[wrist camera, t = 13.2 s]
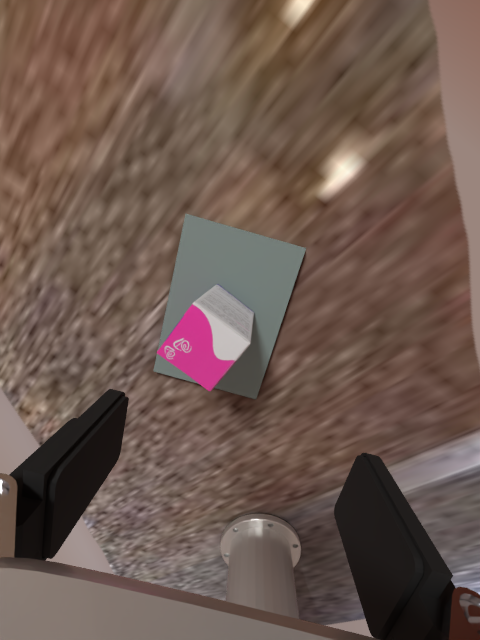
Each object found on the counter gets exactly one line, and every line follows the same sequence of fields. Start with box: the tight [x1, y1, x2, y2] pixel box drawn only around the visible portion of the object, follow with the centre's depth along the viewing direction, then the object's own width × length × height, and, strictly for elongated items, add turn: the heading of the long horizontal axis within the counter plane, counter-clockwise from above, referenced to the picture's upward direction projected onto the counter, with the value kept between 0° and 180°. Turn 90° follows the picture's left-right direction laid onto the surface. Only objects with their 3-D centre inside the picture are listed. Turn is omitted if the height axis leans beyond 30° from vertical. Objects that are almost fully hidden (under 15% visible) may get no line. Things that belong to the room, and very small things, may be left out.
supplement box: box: [157, 284, 254, 391], centre depth 27 cm, size 6×6×12 cm
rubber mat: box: [154, 214, 306, 399], centre depth 32 cm, size 20×14×1 cm
